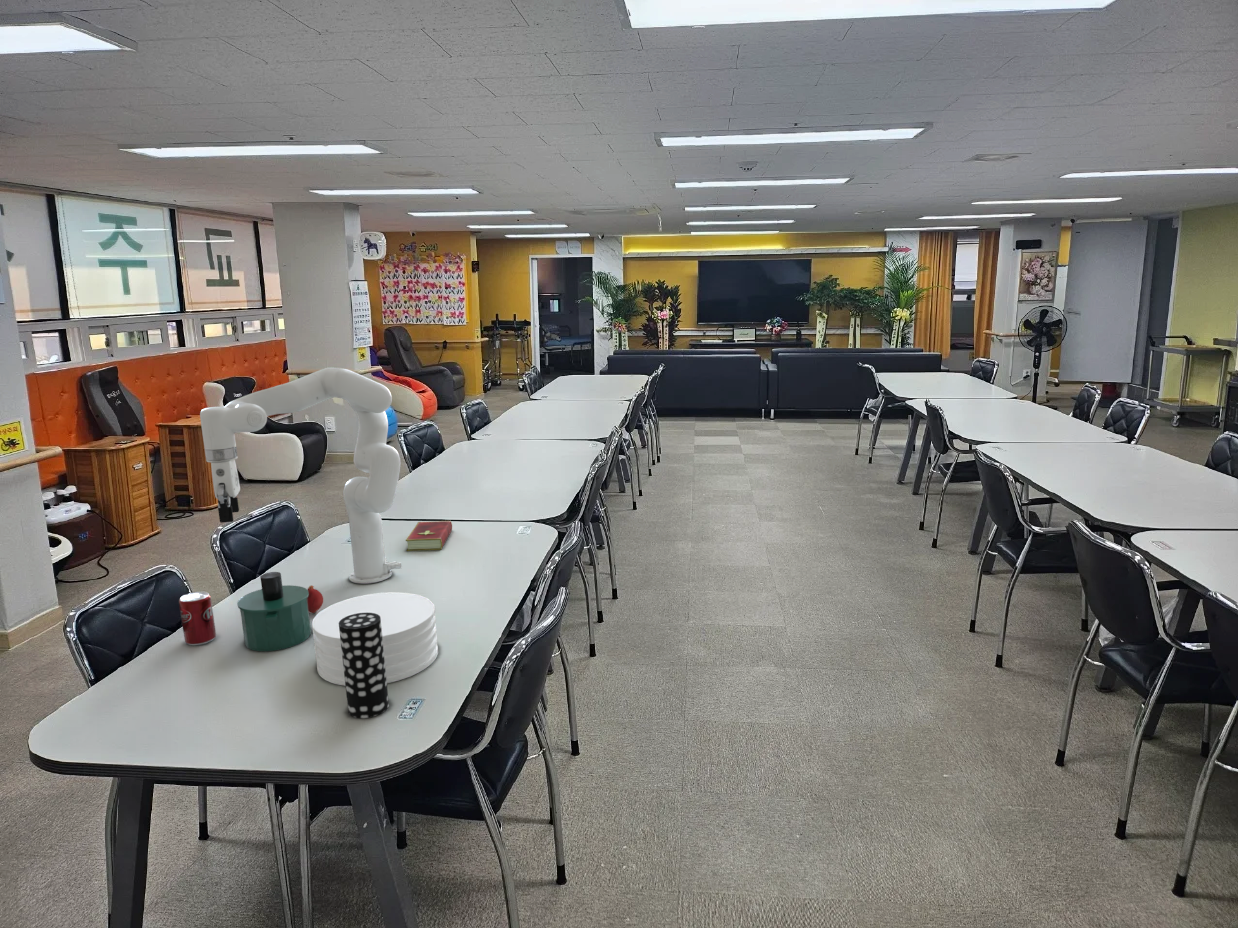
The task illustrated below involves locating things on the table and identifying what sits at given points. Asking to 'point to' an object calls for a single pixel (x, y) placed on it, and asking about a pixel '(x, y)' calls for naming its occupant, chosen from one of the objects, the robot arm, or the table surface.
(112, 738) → the table surface
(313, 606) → the onion
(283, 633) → the pot
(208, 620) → the soda can
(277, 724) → the table surface
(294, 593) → the lid
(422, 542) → the hardcover book
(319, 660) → the plate stack
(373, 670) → the white-spotted black cylinder
